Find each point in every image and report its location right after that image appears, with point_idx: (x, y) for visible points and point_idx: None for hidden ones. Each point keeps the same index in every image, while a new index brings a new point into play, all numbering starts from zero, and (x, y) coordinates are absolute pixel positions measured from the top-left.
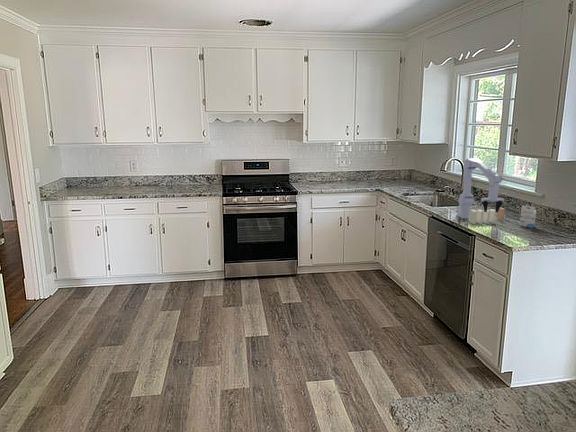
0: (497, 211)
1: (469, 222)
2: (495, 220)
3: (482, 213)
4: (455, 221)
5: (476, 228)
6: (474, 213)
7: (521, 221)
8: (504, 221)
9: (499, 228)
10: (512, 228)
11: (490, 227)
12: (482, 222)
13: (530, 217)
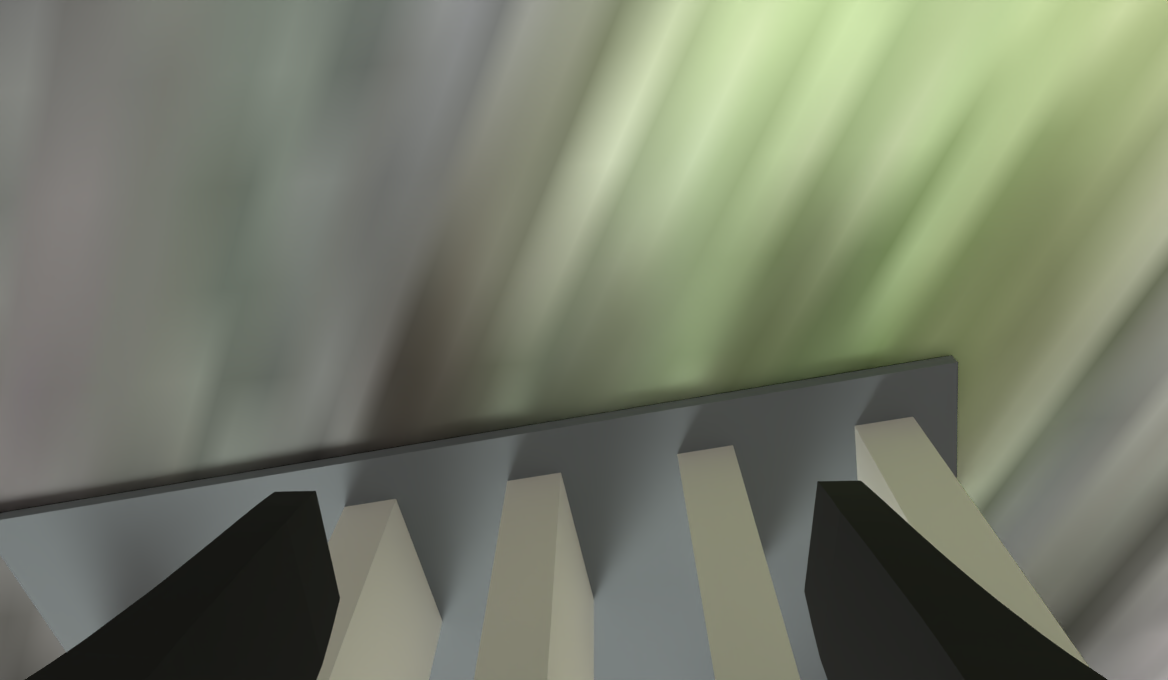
0: (277, 508)
1: None
2: None
3: (746, 661)
4: (1144, 634)
5: (1080, 12)
6: (1056, 635)
7: None
8: None
9: (386, 61)
10: (13, 87)
11: (600, 160)
12: (612, 557)
13: None
